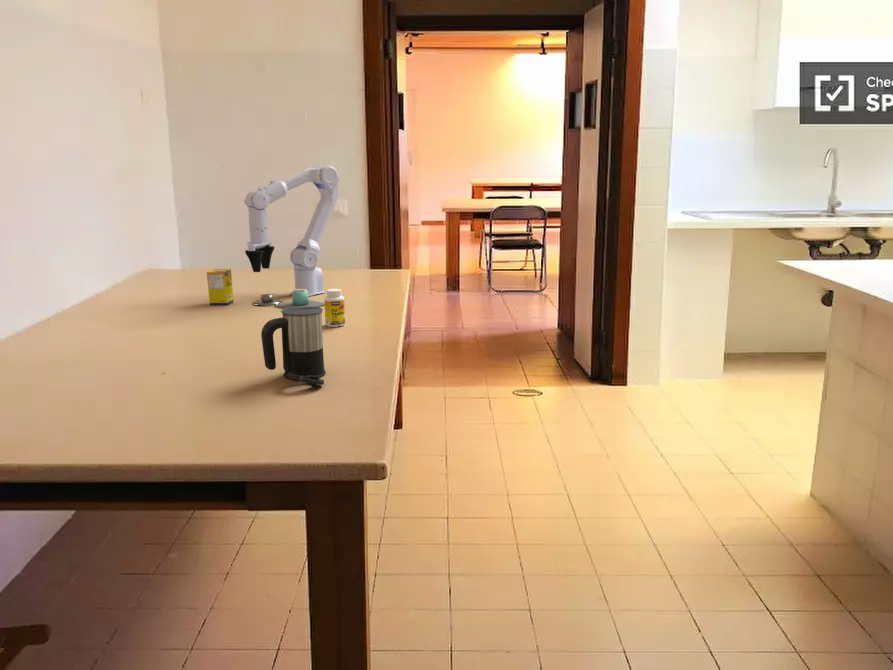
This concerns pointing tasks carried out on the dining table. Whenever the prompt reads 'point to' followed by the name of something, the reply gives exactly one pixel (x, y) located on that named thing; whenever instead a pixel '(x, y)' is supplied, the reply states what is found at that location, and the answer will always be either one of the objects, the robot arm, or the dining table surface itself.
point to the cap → (300, 297)
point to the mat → (311, 303)
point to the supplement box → (220, 286)
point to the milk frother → (297, 344)
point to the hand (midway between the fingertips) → (261, 270)
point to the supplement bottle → (334, 308)
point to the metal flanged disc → (267, 300)
